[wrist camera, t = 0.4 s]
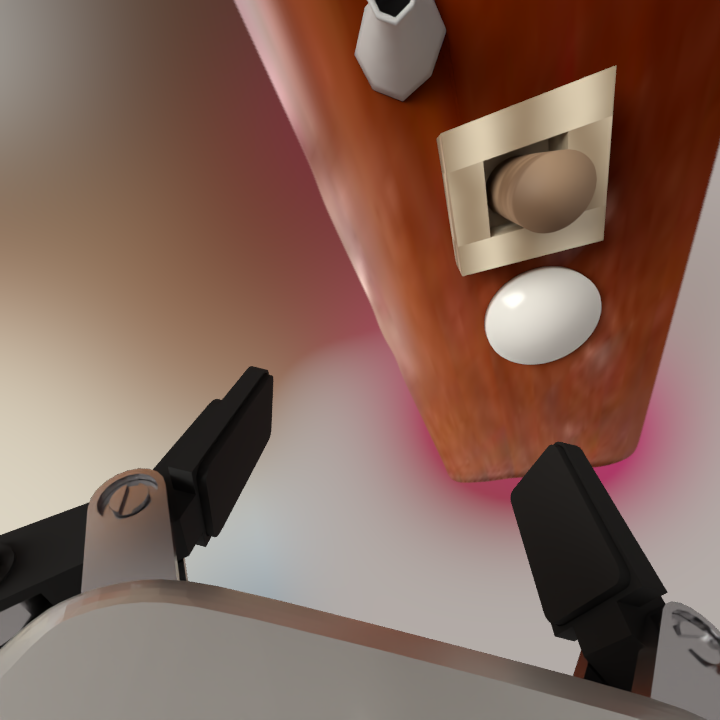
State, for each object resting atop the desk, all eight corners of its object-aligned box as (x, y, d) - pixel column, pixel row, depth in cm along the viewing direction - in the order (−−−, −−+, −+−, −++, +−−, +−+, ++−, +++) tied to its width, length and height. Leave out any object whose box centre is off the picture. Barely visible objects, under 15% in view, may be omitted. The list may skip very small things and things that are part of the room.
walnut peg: (510, 143, 27) (553, 132, 19) (553, 173, 28) (615, 175, 20) (473, 199, 30) (498, 211, 21) (514, 225, 31) (553, 246, 22)
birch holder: (582, 82, 25) (616, 65, 21) (577, 230, 31) (603, 240, 27) (436, 138, 29) (441, 133, 24) (456, 263, 34) (462, 276, 30)
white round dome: (535, 245, 32) (539, 247, 31) (621, 299, 34) (628, 303, 33) (463, 331, 38) (465, 336, 37) (539, 374, 40) (542, 379, 39)
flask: (393, -49, 23) (382, -174, 15) (462, 27, 25) (488, -46, 16) (340, 59, 27) (308, 9, 18) (403, 119, 28) (400, 98, 20)
